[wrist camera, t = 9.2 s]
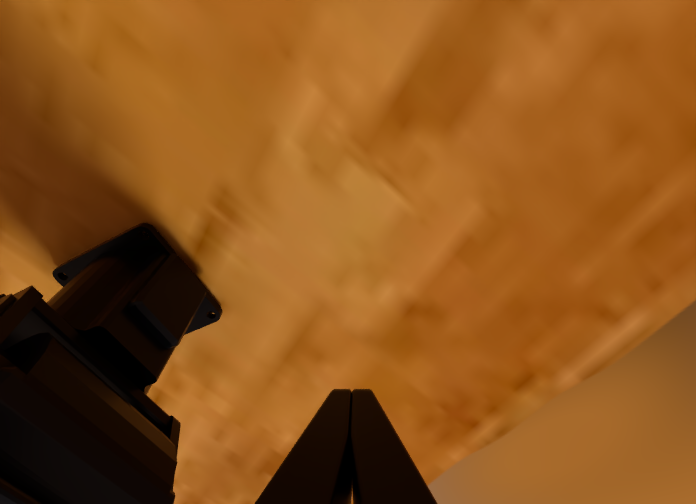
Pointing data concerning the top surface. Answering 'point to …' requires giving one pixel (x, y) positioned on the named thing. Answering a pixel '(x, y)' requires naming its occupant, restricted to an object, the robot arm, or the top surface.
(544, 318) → the top surface
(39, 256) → the top surface
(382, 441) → the robot arm
